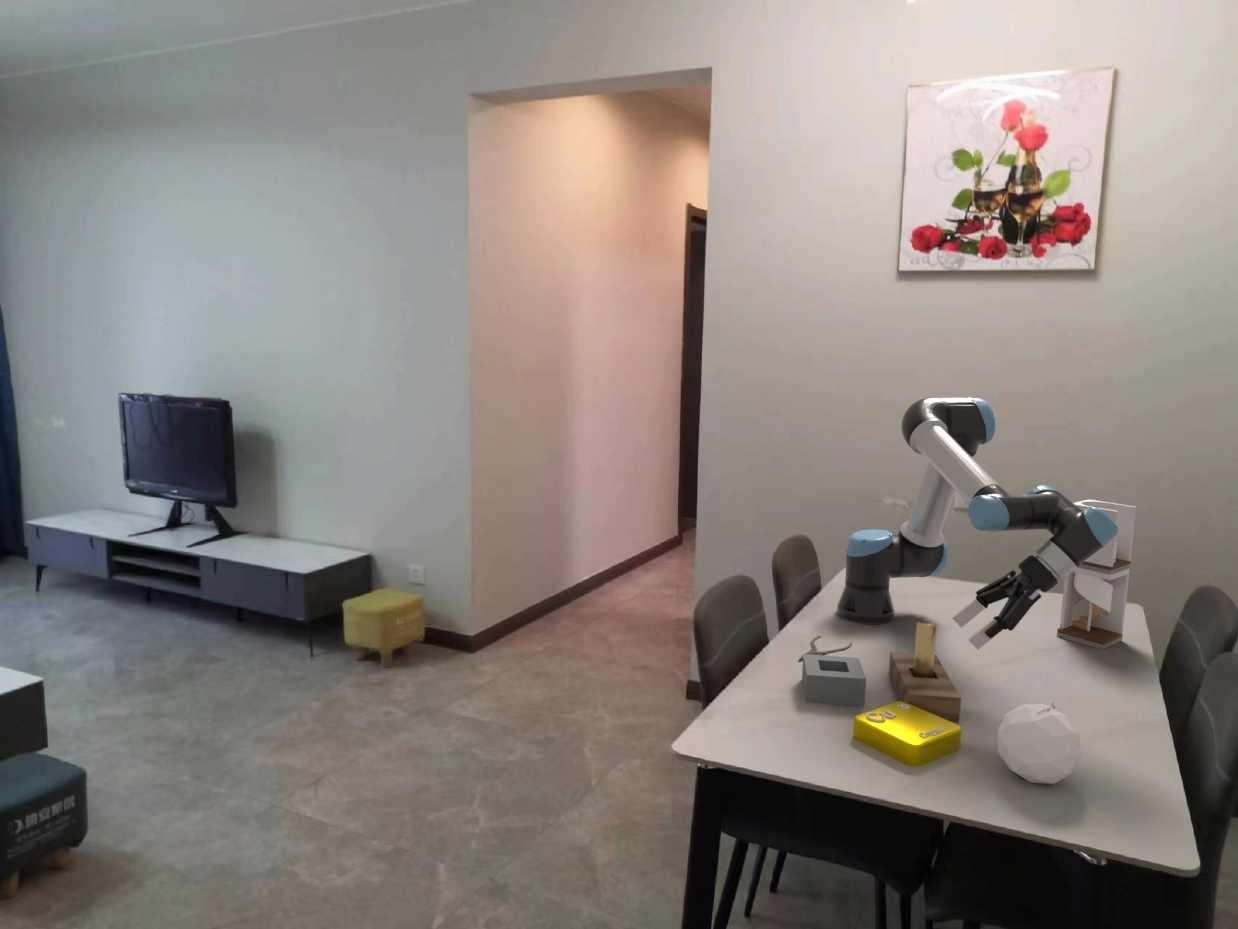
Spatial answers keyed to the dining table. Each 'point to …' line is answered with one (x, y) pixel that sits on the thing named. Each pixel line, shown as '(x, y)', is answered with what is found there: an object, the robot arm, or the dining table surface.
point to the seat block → (833, 680)
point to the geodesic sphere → (1039, 743)
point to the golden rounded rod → (924, 649)
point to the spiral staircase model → (1100, 584)
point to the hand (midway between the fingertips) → (964, 633)
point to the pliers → (814, 651)
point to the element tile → (907, 733)
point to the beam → (925, 687)
